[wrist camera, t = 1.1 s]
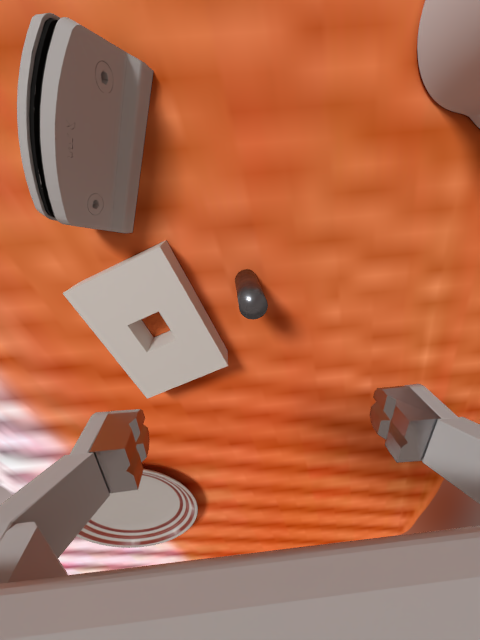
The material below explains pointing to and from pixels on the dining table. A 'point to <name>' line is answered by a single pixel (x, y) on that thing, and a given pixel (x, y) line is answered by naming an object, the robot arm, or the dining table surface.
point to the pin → (250, 295)
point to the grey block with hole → (144, 300)
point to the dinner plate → (143, 514)
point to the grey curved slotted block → (81, 124)
